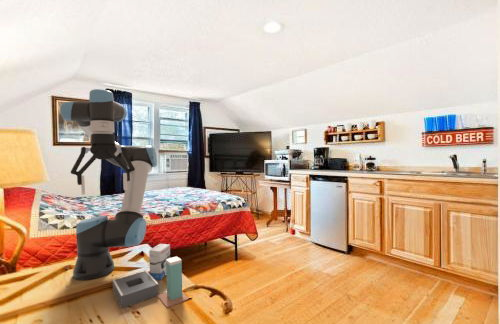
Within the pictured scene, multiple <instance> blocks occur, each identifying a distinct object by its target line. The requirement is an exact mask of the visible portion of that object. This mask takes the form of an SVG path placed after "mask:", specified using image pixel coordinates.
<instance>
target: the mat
mask: <svg viewBox="0 0 500 324" xmlns="http://www.w3.org/2000/svg"><path fill="white" fill-rule="evenodd" d="M182 293H183V292H182ZM157 298H158V299H159V300H160V301H161V303H162V305H164V307H166V309H169V308H171V307H174V306H176V305H178V304H181V303H184V302H186V301H189V300H190V299H189V298H188V297H187V296H186V295H185V293H183V297H180V298H177V299H175V300H172V301H171V300H170V299H169V297H168V296H167V291H166V292H163V293H160V294H158V296H157ZM188 299H189V300H188Z"/></svg>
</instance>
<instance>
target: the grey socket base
mask: <svg viewBox="0 0 500 324" xmlns="http://www.w3.org/2000/svg"><path fill="white" fill-rule="evenodd" d="M112 292H113V294H114V296H115V298H116V300H117V302H118V303H119V305H120V308H121V309H123V308H124V309H125V308H127V307H129V306H132V305H135V304H138V303H141V302H144V301H146V300H149V299H152V298H154V297H155V298H156V297H158V295H159V282H157V280H155V279H154V278H153V277H152V276H151V275H150V272H149V271H148V270H147V269H144V271H140V272H137V273H133V274H130V275H126V276H123V277H120V278H116V279H114V278H113V279H112Z"/></svg>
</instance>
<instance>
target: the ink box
mask: <svg viewBox="0 0 500 324" xmlns="http://www.w3.org/2000/svg"><path fill="white" fill-rule="evenodd" d="M148 254H149V257H148V258H149V260H148V261H149V274H150V275H151V276H152V277H153V278H154V279H155V280H156V281H162V279H163V278H165V277H166V276H165V274H166V259H168V258H171V244H169V243H168V244H166V243H159V244H157V245H155V246H153V247H152V248H151V249H149V252H148Z"/></svg>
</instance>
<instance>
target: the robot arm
mask: <svg viewBox="0 0 500 324" xmlns="http://www.w3.org/2000/svg"><path fill="white" fill-rule="evenodd" d="M59 109H60V110H59V112H60V116H61V118H62V119H63V120H64V121H66V122H75V124H77V125H78V127H79V128H80V129H81V130H82V131H83V133H85V134H86V136H87V138H89V139H90V143H91V146H90V147H85V146H82V147H81V148H80V153H79V155H78V158H77V159H76V161H75V163H74V164H73V166H72V168H71V170H70V174H71V175H74V176H76V179H77V181H76V182H77V185H78V186H81V195H86V188H85V183H86V181H85V175H84V173H85V172H86V170H87V169H89V167H90V166H91V165H92V164H93V163H94V162H95V161H96V160H97V159H98V160H106V161H107V162H109V163H111V165H115V166H117V167H120V168H121V169H122V171H124V172H123V173H122V178H123V179H122V181H123V182H122V185H123V190H124V194H123V199H122V202H121V203H122V204H121V207H120V211H118V212H116V213H115V217H114V219H109V217H108V215H100V216H94V217H90V218H86V219H83V220H81V221H79V222H78V223H77V224H76V226H75V227H76V230H75V235H76V252H77V254H76V255H77V257H76V260H75V265H74V267H73V270H72V275H73V279H75V280H77V281H79V280H80V281H85V280H87V281H88V280H93V279H98V278H101V277H104V276H106V275H108V274H110V273H111V272H113V270H114V269H115V262H114V260H113V257H112V255H111V253H110V248H124V247H125V248H126V247H127V248H128V247H133V246H139V245H140V244H141V243H142V242H143V241H144V238H145V236H146V233H147V220H146V219H145V218H144V214H143V213H142V207H143V202H144V198H145V197H144V196H145V192H146V187H147V180H148V175H149V174H150V173H151V172H152V170H153V168H156V167H157V166H158V165H157V164H158V160H157V159H158V158H157V152H156V148H155V147H154V146H153V145H146V144H145V145H121V144H120V143H118V142H116V137H115V136H116V135H115V122H116V123H119V122H122V121H124V120H125V119H126V117H127V113H128V112H127V110H126V109H127V108H126V107H125V106H124V105H122V104H121V103H119V102H117V101H114V94H113V92H112V91H110V90H107V89H102V88H101V89H100V88H99V89H96V88H95V89H91V90H90V91H89V97H88V101H65V102H62V103H61V104H60V108H59ZM89 152H90V153H91V154H92V156H91V157H90V158H89V159H88V160H87V161H86V162H85V164H84V165H83V166H82V167H81V168H80V169H78V168H79V167H80V165H81V163H82V161H83V159H84V158H85V155H86V154H88V153H89ZM77 170H78V171H77Z"/></svg>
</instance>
